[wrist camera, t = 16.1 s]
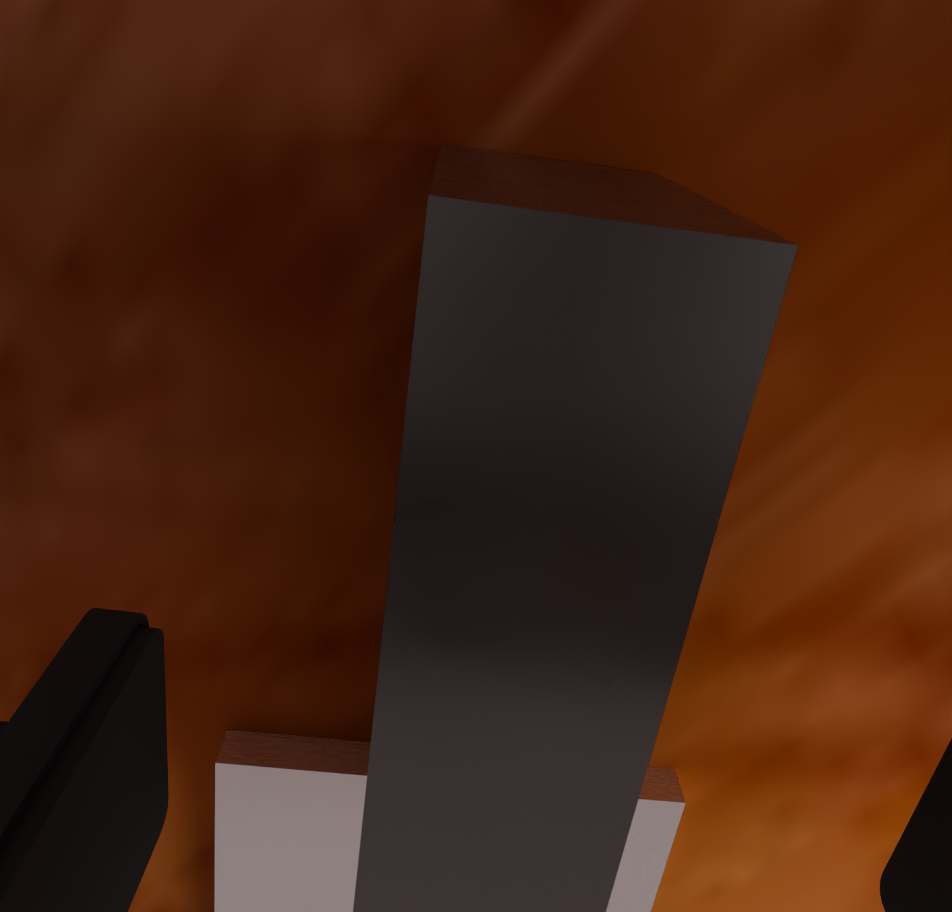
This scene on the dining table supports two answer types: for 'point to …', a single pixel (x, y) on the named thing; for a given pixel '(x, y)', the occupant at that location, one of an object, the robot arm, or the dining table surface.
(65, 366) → the dining table surface
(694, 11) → the dining table surface
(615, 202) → the trowel
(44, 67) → the dining table surface
